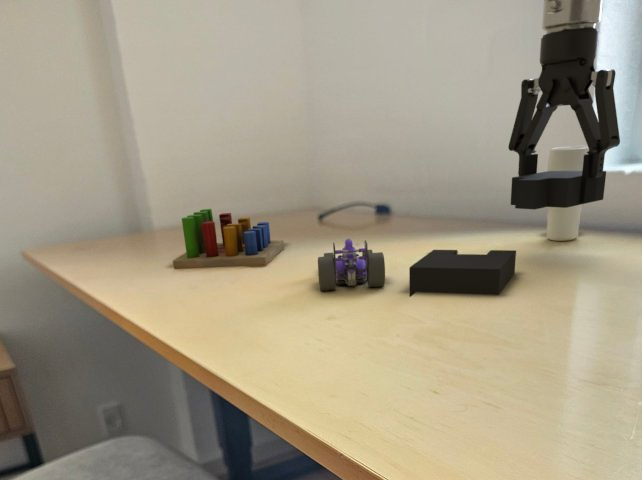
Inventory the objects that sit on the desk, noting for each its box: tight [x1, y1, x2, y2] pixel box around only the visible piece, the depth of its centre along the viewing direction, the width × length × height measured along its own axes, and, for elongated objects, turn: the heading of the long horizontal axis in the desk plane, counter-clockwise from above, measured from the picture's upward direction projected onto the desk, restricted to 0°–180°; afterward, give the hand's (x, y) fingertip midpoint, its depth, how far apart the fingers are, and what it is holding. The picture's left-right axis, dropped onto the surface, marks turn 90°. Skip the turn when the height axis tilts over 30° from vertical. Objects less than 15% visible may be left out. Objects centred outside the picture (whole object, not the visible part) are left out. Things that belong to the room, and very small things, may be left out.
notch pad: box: [408, 249, 517, 297], centre depth 92 cm, size 12×12×4 cm
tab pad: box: [510, 170, 607, 210], centre depth 99 cm, size 10×12×4 cm
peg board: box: [172, 208, 285, 270], centre depth 123 cm, size 18×17×9 cm
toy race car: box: [317, 238, 386, 292], centre depth 100 cm, size 10×15×6 cm, turn 179°
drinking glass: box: [545, 145, 589, 242], centre depth 115 cm, size 7×7×15 cm
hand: (556, 200), depth 101 cm, fingers closed on tab pad, 10 cm apart
